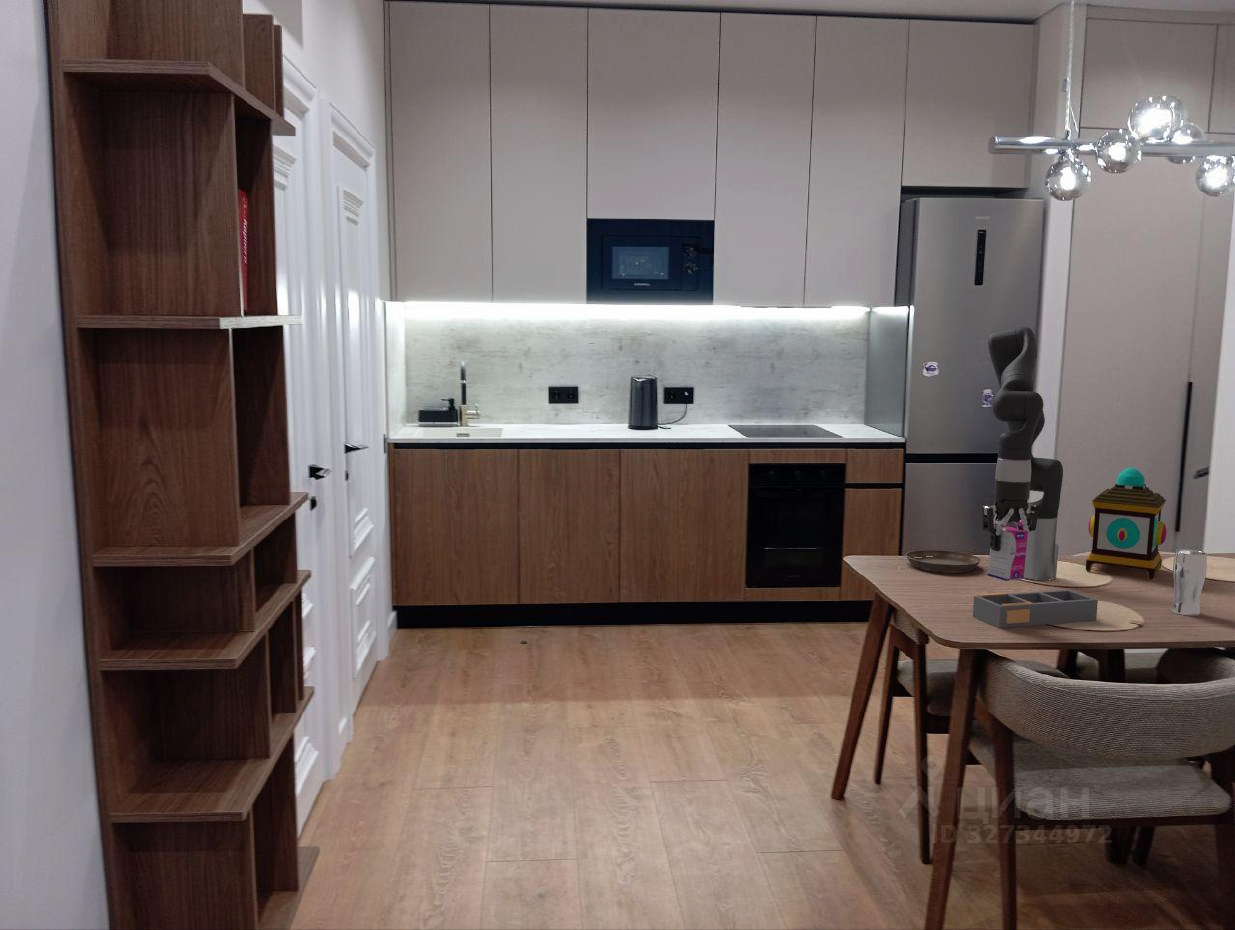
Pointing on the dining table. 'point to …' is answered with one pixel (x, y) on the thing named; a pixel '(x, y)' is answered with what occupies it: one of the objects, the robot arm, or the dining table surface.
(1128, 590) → the dining table surface
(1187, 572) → the beer glass
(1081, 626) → the dining table surface
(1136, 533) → the decorative lantern
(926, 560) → the plant saucer
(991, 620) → the rack
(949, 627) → the dining table surface
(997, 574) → the supplement box
